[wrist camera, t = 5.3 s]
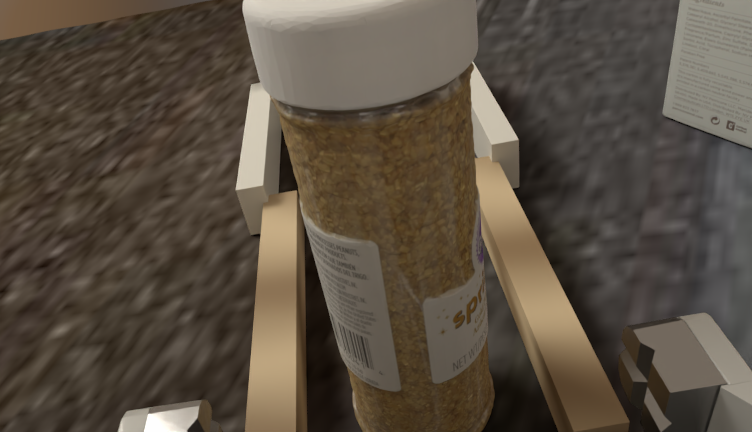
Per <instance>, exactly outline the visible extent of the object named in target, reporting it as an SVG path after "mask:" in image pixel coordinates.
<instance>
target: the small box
mask: <svg viewBox="0 0 752 432" xmlns="http://www.w3.org/2000/svg"><path fill="white" fill-rule="evenodd" d="M663 115H664V116H666V117H669V118H671V119H674V120H676V121H679V122H681V123H684V124H687V125H690V126H692V127H695V128H697V129H700V130H703V131H706V132H708V133H711V134H714V135H717V136H719V137H722V138H724V139H727V140H730V141H732V142H735V143H738V144H741V145H744V146H747V147H749V148H752V0H680V5H679V12H678V19H677V25H676V32H675V38H674V45H673V51H672V57H671V63H670V69H669V76H668V83H667V89H666V95H665V101H664V107H663Z"/></svg>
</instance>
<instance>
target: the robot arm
mask: <svg viewBox="0 0 752 432" xmlns="http://www.w3.org/2000/svg"><path fill="white" fill-rule="evenodd" d="M622 341H623V343H624V345H625V347H626V349H625V350H624V351H623V352H622V353H621V354H620V355H619V364H618V368H619V374H620V380H621V383H622V386H623V389H624V392H625V394H626V396H627V398H628V400H629V402H630V403H631V404H633V405H634V406H636V407H638V408H639V409H641V410H642V416H641V421H640V423H641V425H642V427H643V429H644V431H645V432H752V370H751V369H750V368H749V366H748V365H747V364H746V362H745V361H744V360H743V358H742V357H741V356H740V354H739V353H738V352H737V350H736V349H735V348H734V346H733V345H732V344H731V343H730V341H729V340H728V339H727V337H726V336H725V335H724V333H723V332H722V331H721V329H720V328H719V327H718V325H717V324H716V323H715V321H714V320H713V319H712V317H711V316H710V315H708V314H706V313H699V314H693V315H688V316H682V317H678V318H676V317H673V318H668V319H662V320H657V321H651V322H646V323H641V324H635V325H630V326H626V327H625V329H624V330H623V334H622ZM211 416H212V408H211V406H210V405H209V403H208V401H207V399H206V400H198V401H191V402H184V403H177V404H170V405H163V406H156V407H150V408H144V409H137V410H131V411H127V412H126V413H125V415H124V416H123V418H122V419H121V422H120V426H119V429H118V432H223V431H222V429H221V427H220V425H219V423H217V422H215V421H213V420H211Z"/></svg>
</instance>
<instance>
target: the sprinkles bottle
mask: <svg viewBox="0 0 752 432" xmlns="http://www.w3.org/2000/svg"><path fill="white" fill-rule="evenodd" d="M243 15H244V19H245V23H246V28H247V32H248V36H249V41H250V45H251V50H252V53H253V57H254V61H255V64H256V68H257V72H258V75H259V79H260V82H261V85H262V87H263V88H264V89H265V91H266V92H267V93H268V94H269V95H270V99H271V100H272V102H273V103H274V105H275V107H276V109H277V112H278V113H279V115H280V122H281V126H282V130H283V134H284V138H285V142H286V145H287V148H288V152H289V155H290V159H291V163H292V166H293V172H294V175H295V178H296V181H297V184H298V191H299V194H300V207H301V212H302V216H303V220H304V224H305V227H306V231H307V234H308V238H309V241H310V245H311V248H312V252H313V256H314V259H315V263H316V267H317V270H318V274H319V278H320V281H321V285H322V289H323V292H324V296H325V300H326V303H327V307H328V311H329V314H330V318H331V322H332V326H333V329H334V333H335V337H336V340H337V344H338V348H339V351H340V354H341V357H342V359H343V360H344V362H345V364H346V366H347V369H348V372H349V375H350V381H351V385H352V388H353V408H354V411H355V416H356V419H357V421H358V423H359V425H360V427H361V429H362V431H363V432H482V430H483V429H484V428H485V426H486V424H487V422H488V420H489V417H490V415H491V411H492V408H493V402H494V398H495V392H494V388H493V380H492V376H491V374H490V372H489V363H488V347H487V331H488V315H487V300H486V286H485V275H484V261H483V248H482V232H481V213H480V194H479V190H478V187H477V185H476V165H475V152H474V139H473V124H472V117H471V115H472V112H471V107H472V102H471V86H470V79H471V73H472V72H473V70H474V65H473V63H472V61H473V60H474V58H475V56H476V54H477V51H478V34H477V13H476V0H244V1H243Z"/></svg>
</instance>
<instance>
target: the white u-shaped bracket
mask: <svg viewBox="0 0 752 432" xmlns="http://www.w3.org/2000/svg"><path fill="white" fill-rule="evenodd" d="M472 63H473V65H474V70H473V72H472V73H471V79H470V86H471V102H472V107H471V112H472V115H471V117H472V124H473V139H474V151H475V153H476V155H477V157H478V158H480V157H485V156H489V157H490V159H491V161H492V162H496V161H498V162H499V164H500V166H501V168H502V170H503V172H504V174H505V175H506V177H507V179H508V181H509V183H510V185H511V187H512V188H518V187H519V139H518V137H517V136H516V134H515V132H514V131H513V129H512V127H511V125H510V124H509V122H508V120H507V119H506V117H505V115H504V114H503V112H502V110H501V108H500V107H499V105H498V103H497V102H496V100H495V98H494V97H493V95H492V93H491V91H490V90H489V88H488V86H487V85H486V83H485V81H484V79H483V78H482V76H481V74H480V73H479V71H478V69H477V68H476V66H475V64H474V62H473V61H472ZM281 129H282V126H281V122H280V115H279V113H278V112H277V109H276V107H275V105H274V103H273V102H272V100H271V99H270V95H269V94H268V93H267V92H266V91H265V89H264V88H263V87H262V85H261V83H257V84H251V89H250V96H249V103H248V110H247V116H246V123H245V130H244V137H243V144H242V151H241V157H240V164H239V171H238V178H237V185H236V193H237V196H238V199H239V201H240V204H241V207H242V210H243V213H244V216H245V219H246V222H247V225H248V228H249V231H250V234H251V235H254V234H260V233H261V224H262V211H263V203H267V202H268V198H269V195H273V194H278V193H279V173H280V151H281Z"/></svg>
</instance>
